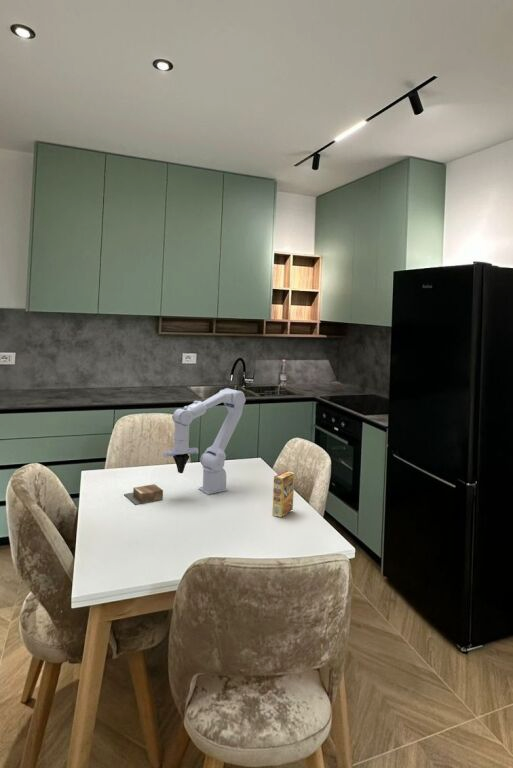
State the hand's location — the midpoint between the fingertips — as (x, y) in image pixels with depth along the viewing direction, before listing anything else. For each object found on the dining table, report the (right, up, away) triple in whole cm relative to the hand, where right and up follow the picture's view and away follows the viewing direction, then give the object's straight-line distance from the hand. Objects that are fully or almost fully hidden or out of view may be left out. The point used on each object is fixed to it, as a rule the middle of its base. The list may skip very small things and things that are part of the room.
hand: (180, 472), depth 191 cm
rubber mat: (-15, -10, -1) cm, 18 cm away
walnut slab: (-9, -8, +1) cm, 12 cm away
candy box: (+40, -14, -10) cm, 44 cm away
